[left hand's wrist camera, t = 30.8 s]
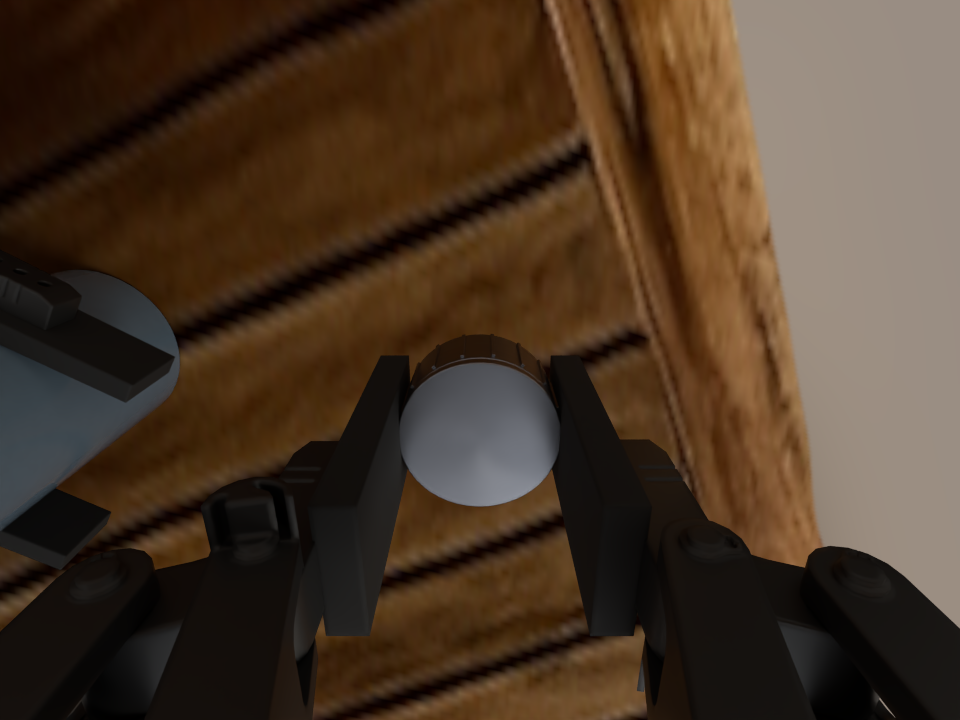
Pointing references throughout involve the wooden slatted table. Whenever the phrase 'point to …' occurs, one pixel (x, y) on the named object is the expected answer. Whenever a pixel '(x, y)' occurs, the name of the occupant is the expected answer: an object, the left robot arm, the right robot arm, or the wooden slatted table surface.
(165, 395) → the bottle
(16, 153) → the wooden slatted table surface
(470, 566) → the wooden slatted table surface
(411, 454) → the cap
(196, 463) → the wooden slatted table surface
